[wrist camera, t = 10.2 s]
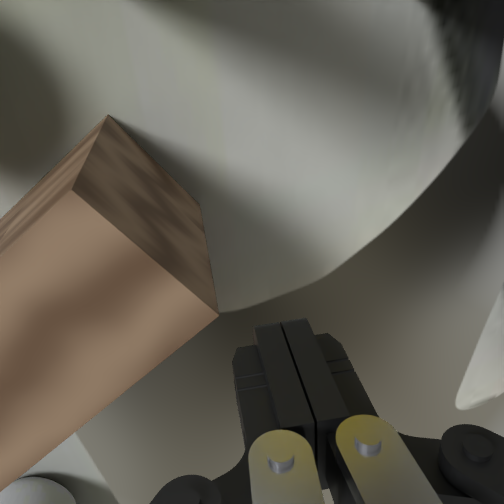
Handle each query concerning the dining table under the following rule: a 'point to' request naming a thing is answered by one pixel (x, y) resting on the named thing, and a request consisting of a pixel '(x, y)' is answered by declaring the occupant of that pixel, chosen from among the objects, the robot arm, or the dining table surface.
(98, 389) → the wooden box
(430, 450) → the robot arm
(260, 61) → the dining table surface
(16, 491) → the teacup
